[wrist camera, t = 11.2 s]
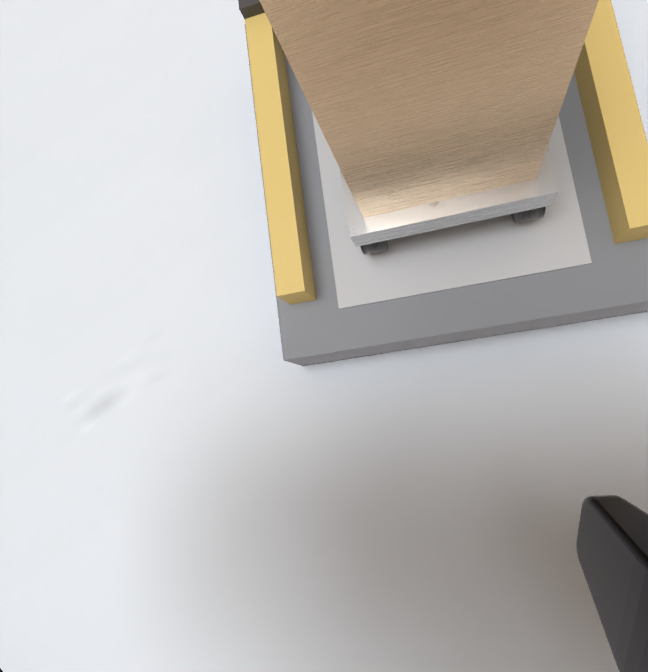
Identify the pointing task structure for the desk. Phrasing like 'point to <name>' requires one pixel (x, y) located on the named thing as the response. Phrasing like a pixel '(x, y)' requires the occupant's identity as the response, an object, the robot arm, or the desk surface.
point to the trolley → (435, 104)
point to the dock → (457, 241)
